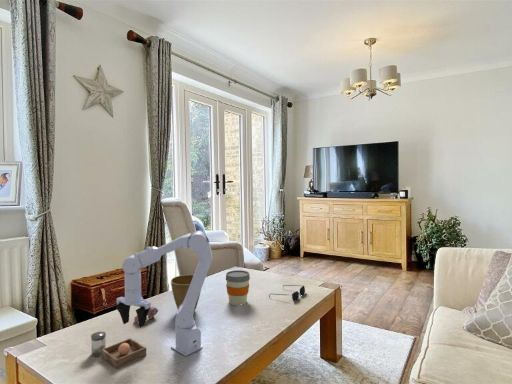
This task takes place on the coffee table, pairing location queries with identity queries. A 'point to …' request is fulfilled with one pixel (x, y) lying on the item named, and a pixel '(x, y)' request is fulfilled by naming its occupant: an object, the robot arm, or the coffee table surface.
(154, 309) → the video game controller
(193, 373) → the coffee table surface
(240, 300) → the reusable coffee cup
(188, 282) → the plant pot
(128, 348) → the ball
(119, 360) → the tray
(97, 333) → the shaker
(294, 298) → the sunglasses
